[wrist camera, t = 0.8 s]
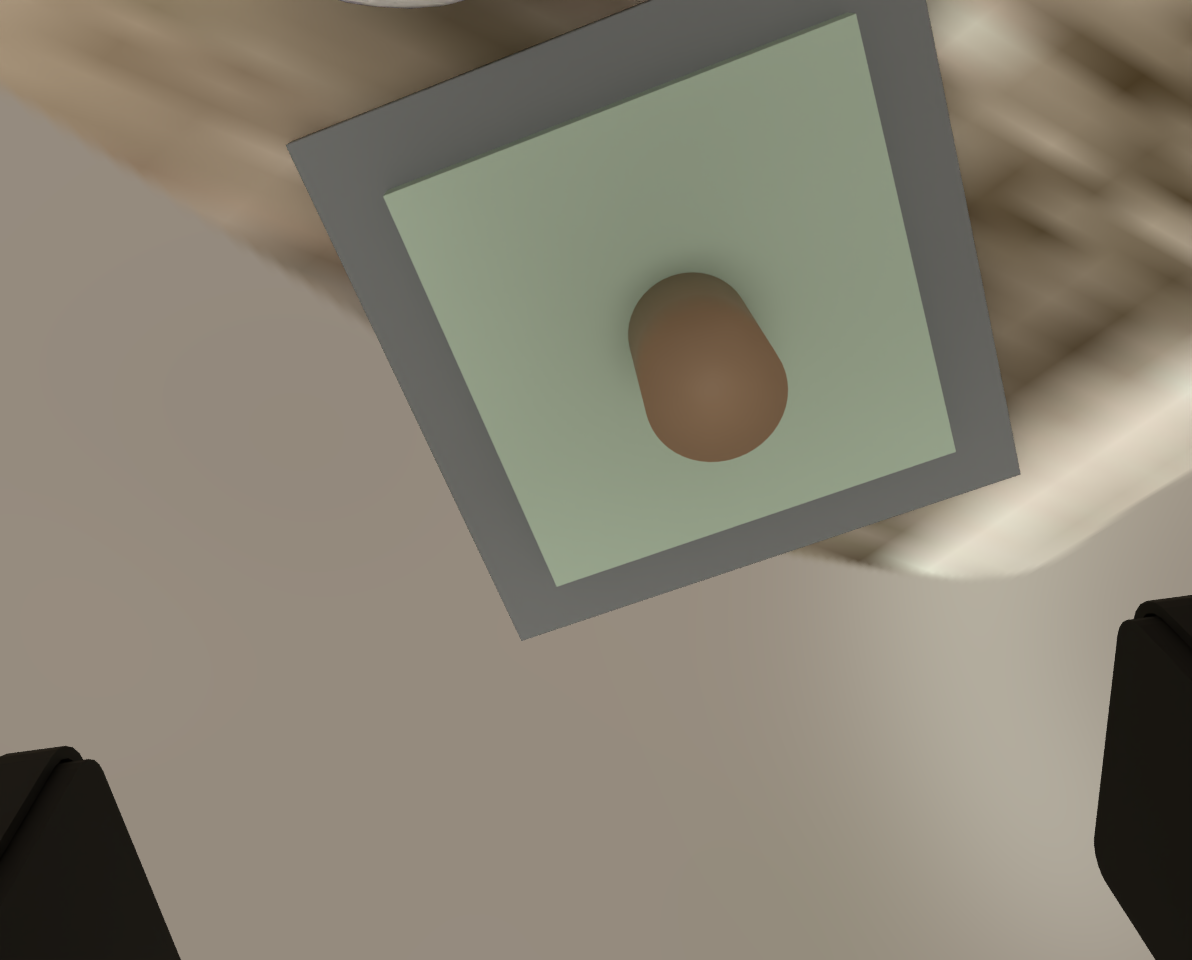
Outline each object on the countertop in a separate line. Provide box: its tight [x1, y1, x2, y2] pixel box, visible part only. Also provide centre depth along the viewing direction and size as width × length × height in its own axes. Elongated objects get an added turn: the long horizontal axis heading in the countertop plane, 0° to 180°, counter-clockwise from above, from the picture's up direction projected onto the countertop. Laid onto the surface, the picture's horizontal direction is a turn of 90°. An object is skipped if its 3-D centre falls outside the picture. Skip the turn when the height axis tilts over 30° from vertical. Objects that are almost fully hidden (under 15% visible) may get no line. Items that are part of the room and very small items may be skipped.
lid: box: [383, 13, 956, 587], centre depth 28 cm, size 13×13×6 cm
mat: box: [286, 0, 1020, 641], centre depth 31 cm, size 17×17×1 cm
